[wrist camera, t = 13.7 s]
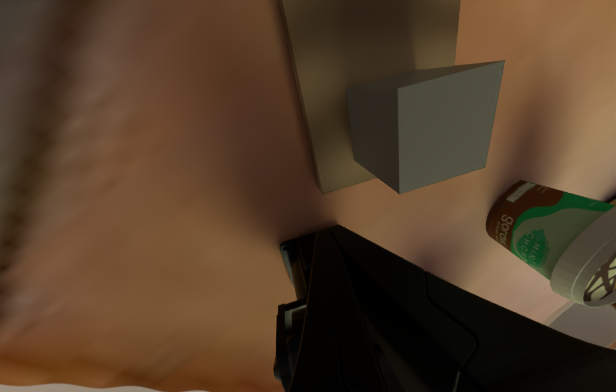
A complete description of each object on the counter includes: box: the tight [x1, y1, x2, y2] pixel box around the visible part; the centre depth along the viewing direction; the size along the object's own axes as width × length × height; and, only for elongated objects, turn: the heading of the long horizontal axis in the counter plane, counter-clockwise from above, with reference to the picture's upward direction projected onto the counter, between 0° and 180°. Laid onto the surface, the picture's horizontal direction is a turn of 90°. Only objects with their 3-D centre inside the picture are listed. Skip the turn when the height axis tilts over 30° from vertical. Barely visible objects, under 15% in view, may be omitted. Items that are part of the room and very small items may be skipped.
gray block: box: [346, 60, 505, 194], centre depth 14 cm, size 6×6×7 cm
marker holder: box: [278, 0, 460, 194], centre depth 13 cm, size 22×12×7 cm, turn 12°
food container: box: [486, 180, 616, 308], centre depth 24 cm, size 12×6×10 cm, turn 27°
